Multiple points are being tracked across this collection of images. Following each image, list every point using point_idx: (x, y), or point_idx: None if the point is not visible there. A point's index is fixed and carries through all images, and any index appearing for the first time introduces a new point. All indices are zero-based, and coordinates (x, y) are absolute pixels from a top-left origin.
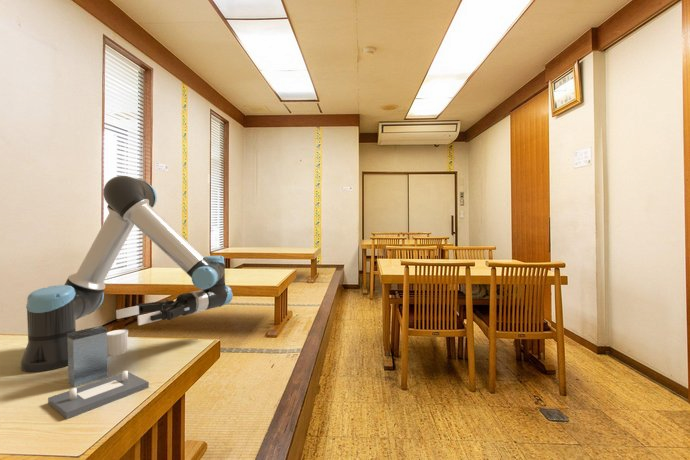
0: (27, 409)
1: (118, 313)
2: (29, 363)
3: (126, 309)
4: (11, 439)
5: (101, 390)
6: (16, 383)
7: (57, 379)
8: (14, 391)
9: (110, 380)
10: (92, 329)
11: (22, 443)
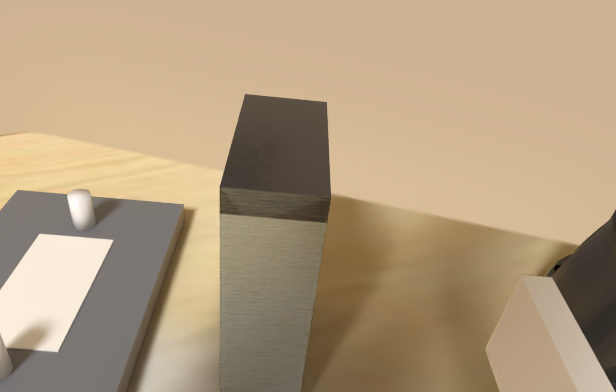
0: (206, 194)
1: (511, 317)
2: (570, 255)
3: (561, 384)
4: (78, 146)
5: (31, 281)
6: (456, 235)
7: (385, 296)
8: (383, 216)
9: (85, 342)
10: (277, 152)
11: (32, 147)
